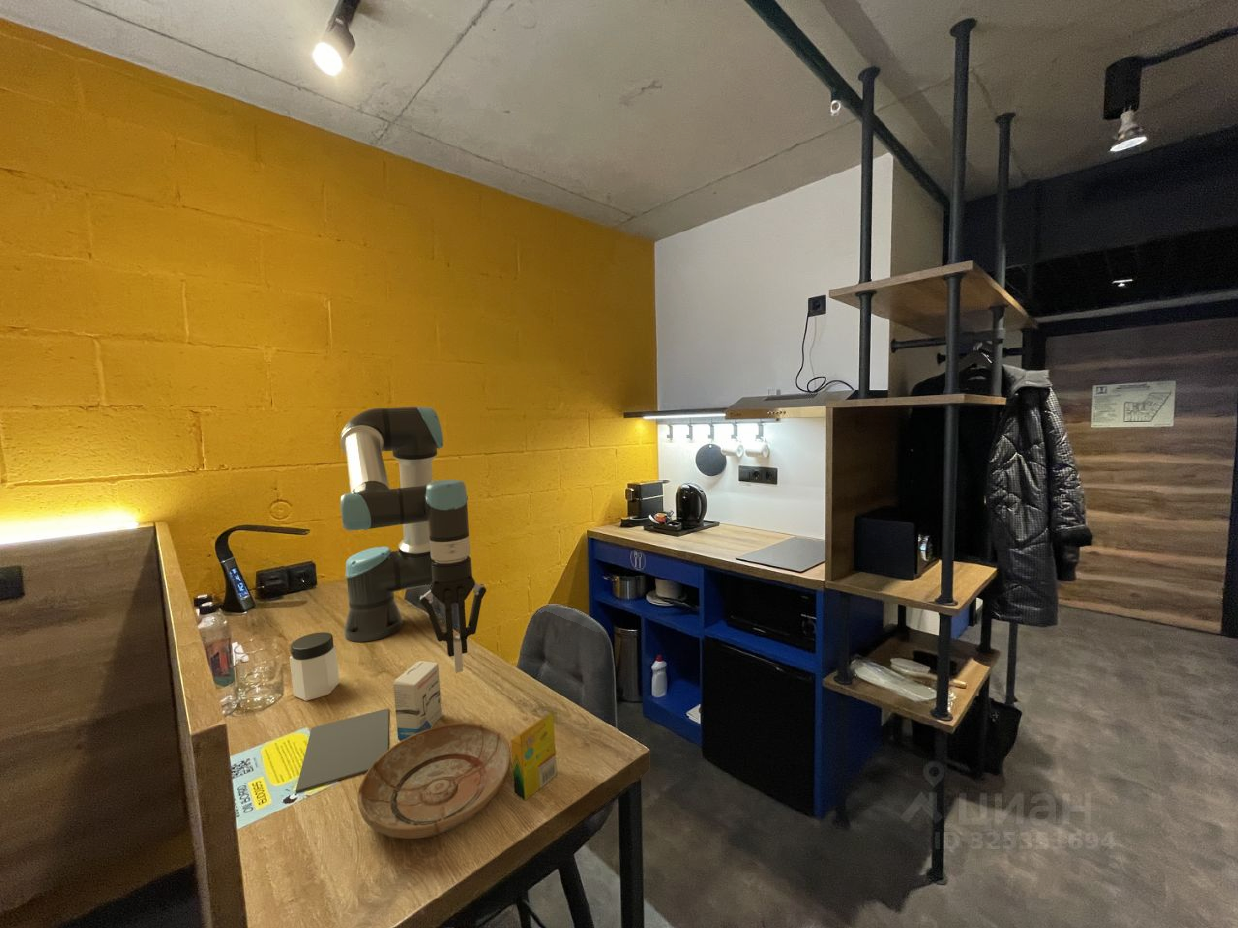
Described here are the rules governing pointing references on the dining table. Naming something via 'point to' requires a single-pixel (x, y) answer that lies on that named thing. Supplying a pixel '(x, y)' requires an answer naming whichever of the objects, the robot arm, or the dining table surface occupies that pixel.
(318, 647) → the jar
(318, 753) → the mat
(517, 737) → the crayon box
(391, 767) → the ceramic bowl
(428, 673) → the ink box
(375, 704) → the dining table surface
